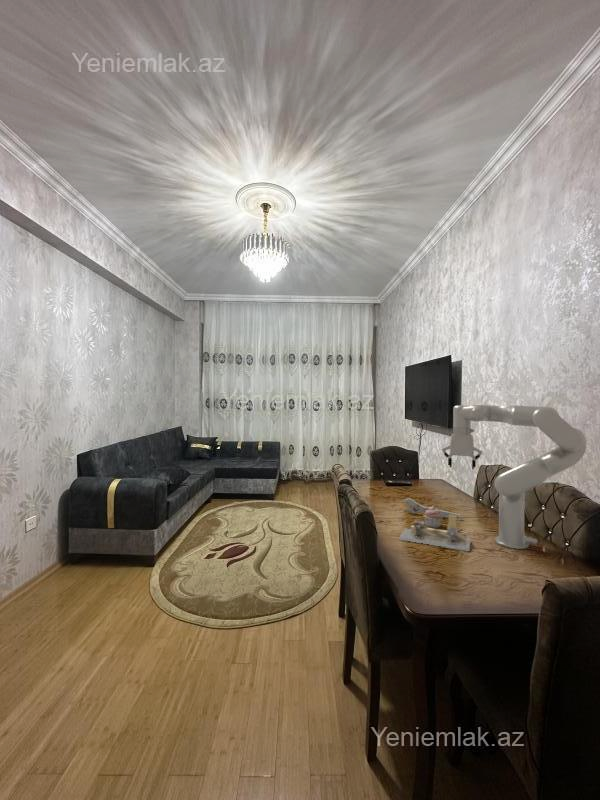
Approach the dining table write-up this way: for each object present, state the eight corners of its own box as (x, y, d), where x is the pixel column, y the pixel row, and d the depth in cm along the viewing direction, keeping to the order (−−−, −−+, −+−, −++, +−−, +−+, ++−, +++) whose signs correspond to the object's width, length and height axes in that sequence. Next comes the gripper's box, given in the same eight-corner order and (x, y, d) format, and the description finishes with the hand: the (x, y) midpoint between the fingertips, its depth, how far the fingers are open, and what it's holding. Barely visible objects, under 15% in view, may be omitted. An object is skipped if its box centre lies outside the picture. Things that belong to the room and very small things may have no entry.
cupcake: (439, 530, 173) (439, 509, 173) (420, 526, 179) (420, 506, 179) (445, 525, 180) (445, 505, 181) (426, 521, 186) (426, 502, 186)
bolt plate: (470, 541, 159) (470, 538, 159) (469, 551, 149) (469, 547, 149) (404, 531, 172) (404, 527, 172) (399, 539, 161) (399, 536, 161)
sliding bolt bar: (466, 538, 159) (466, 527, 159) (465, 543, 153) (465, 532, 153) (411, 530, 169) (412, 519, 169) (409, 534, 164) (409, 523, 164)
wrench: (460, 526, 188) (401, 512, 201) (460, 525, 190) (402, 511, 203) (462, 511, 188) (403, 497, 201) (462, 510, 190) (404, 496, 202)
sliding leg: (457, 536, 161) (457, 515, 161) (456, 541, 155) (456, 519, 155) (447, 534, 162) (447, 513, 162) (446, 539, 157) (446, 517, 157)
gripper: (482, 431, 171) (482, 468, 171) (442, 430, 179) (442, 465, 179) (482, 432, 164) (482, 470, 164) (441, 431, 172) (441, 467, 172)
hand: (461, 467), depth 171 cm, fingers open, 9 cm apart
